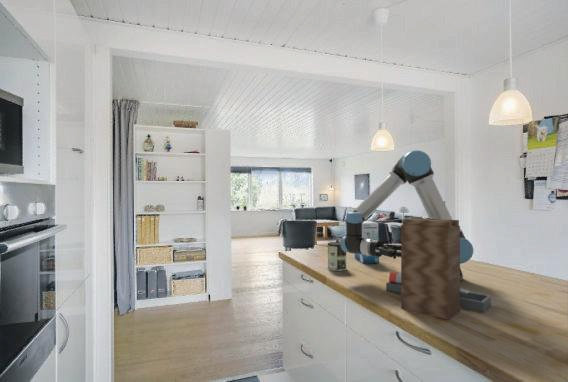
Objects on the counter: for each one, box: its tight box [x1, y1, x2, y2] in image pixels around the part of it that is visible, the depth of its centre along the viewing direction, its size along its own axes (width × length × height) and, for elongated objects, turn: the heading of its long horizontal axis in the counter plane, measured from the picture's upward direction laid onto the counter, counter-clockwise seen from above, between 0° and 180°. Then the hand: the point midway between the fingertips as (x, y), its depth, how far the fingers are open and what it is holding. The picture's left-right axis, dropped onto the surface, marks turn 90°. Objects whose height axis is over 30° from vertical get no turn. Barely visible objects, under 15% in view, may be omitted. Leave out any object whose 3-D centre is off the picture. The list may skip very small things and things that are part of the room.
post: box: [400, 217, 461, 321], centre depth 117 cm, size 16×12×32 cm
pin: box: [388, 270, 471, 299], centre depth 132 cm, size 30×4×4 cm, turn 47°
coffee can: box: [327, 241, 347, 272], centre depth 180 cm, size 10×10×14 cm
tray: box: [385, 281, 492, 314], centre depth 130 cm, size 36×11×4 cm, turn 46°
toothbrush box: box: [354, 220, 380, 264], centre depth 203 cm, size 18×10×24 cm, turn 4°
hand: (419, 253), depth 134 cm, fingers open, 13 cm apart
